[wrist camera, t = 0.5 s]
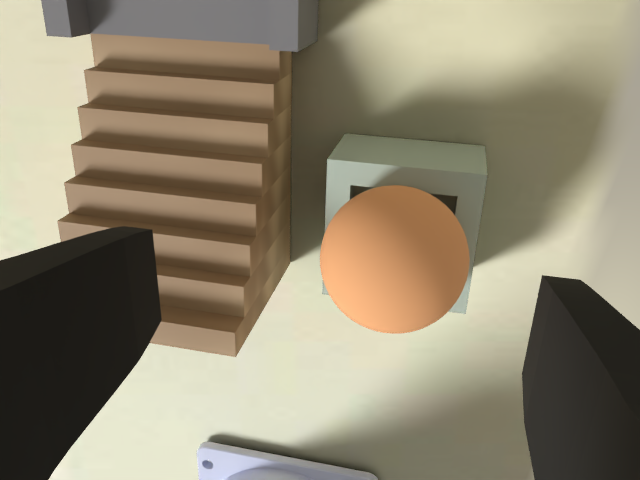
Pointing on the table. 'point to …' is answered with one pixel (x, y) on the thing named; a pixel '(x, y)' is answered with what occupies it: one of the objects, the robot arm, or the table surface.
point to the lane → (189, 20)
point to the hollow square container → (412, 179)
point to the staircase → (190, 175)
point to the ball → (394, 259)
